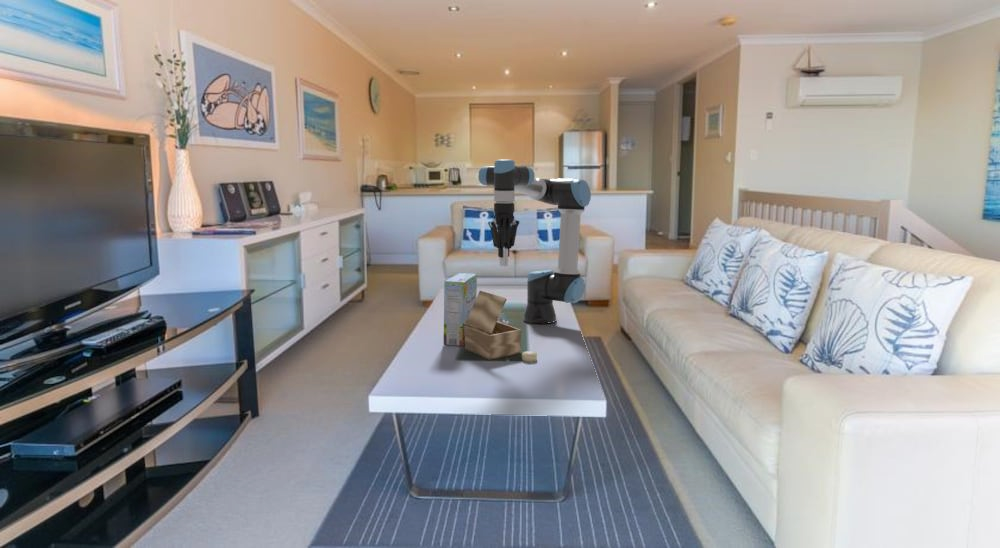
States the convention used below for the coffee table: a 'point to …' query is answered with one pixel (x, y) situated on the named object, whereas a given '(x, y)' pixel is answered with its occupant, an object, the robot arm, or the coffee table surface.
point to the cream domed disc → (529, 356)
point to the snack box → (458, 306)
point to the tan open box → (493, 341)
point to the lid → (485, 312)
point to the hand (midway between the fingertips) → (503, 265)
